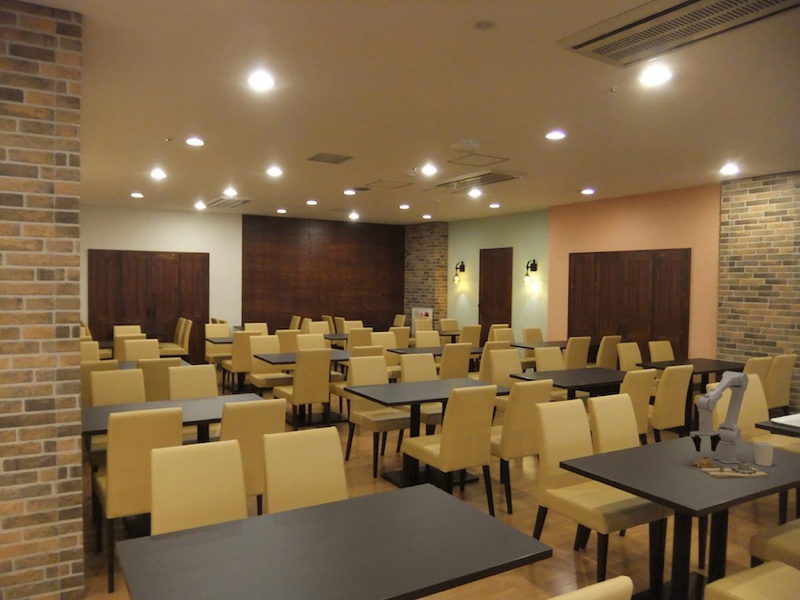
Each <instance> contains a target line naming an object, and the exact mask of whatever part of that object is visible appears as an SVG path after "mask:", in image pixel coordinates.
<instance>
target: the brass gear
mask: <svg viewBox="0 0 800 600" xmlns="http://www.w3.org/2000/svg"><path fill="white" fill-rule="evenodd" d="M693 464H694V465H696V466H695V467H697V468H698V467H701V468H718V464H715V463H714V462H712V458H711V457H710V456H709V457H708V456H700V461H694V463H693Z"/></svg>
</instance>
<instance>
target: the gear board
mask: <svg viewBox="0 0 800 600" xmlns="http://www.w3.org/2000/svg"><path fill="white" fill-rule="evenodd" d="M738 461H739V460H738ZM724 464H725V463H719V467H717V468H699V469H700V470H701V471H700V470H699V471H700V472H702V471H703V473H704V472H705V473H704V474H706V473H707V475H708V474H709V475H708V476H710V475H711V476H710V477H712V476H713V477H712V478H714V477H715V478H714V479H716V478H719V479H745V478H746V479H747V478H748V479H749V478H750V479H751V478H752V477H756V478H770V474H768V473H766V472H764V471H761V470H759V469H757V468H754V467H752V466H750V463H749V462H748V461H746V459H741V461H739V462H738V463H737V465H736V466H731V467H724V466H725V465H724ZM752 479H753V478H752Z"/></svg>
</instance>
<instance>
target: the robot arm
mask: <svg viewBox="0 0 800 600" xmlns="http://www.w3.org/2000/svg"><path fill="white" fill-rule="evenodd" d="M749 380H750V379H749V377H748V375H747V373H745V372H736V371H729V370H726V371H724V372H723V374H722V375H721V380H720V382H719V383H718V384H717V385H716V387H711V388H710V389H709V390H708V391H707V393H705V395H703V396H701V397H699V398H697V400H696V407H697V412H698V413H699V414H698V417H699V418H698V430H695V431H689V436H690V437H691V441H692V442H693V445H694V447H695V451H696V452H697V453H701V443H702V441H703V439H702V437H709V438H710V440H709V441H710V449H711V452H713V453H715V454H714V455H715V457H713V459H715V460H716V461H719V462H722V463H723V464H738V462H739V460H737V455H738V454H737V448H738V446H737V445H739V444H740V442H741V440H742V430H741V428H740V426H738V420H739V416H740V412H741V407H742V404H743V400H744V399H743V398H744V395H745V392H746V391H747V390H748V385H749ZM727 389H729V390H730V391H731V395H730V398H729V402H728V406H727V411H726V415H725V419H724V421H723V422H721V423H720V424H718V427H717V429H716V430H713V429H714V427H713V425H714V424H713V423H714V421H713V420H714V419H713V418H714V417H713V416H714V415H713V414H714V413H713V412H714V410H715V409H716V406H717V404H718V401H719V400H721V398H722V397H723V392H725V391H726V390H727Z"/></svg>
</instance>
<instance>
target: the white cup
mask: <svg viewBox="0 0 800 600" xmlns="http://www.w3.org/2000/svg"><path fill="white" fill-rule="evenodd" d="M753 446H754V448H753V449H754V459H755V461H754V462H755V464H756V465H759V466H762V465H763V466H762V467H772V466H773V458H774V457H773V456H774V444H773V443H772V442H766V441H754V442H753ZM771 465H772V466H771Z"/></svg>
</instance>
